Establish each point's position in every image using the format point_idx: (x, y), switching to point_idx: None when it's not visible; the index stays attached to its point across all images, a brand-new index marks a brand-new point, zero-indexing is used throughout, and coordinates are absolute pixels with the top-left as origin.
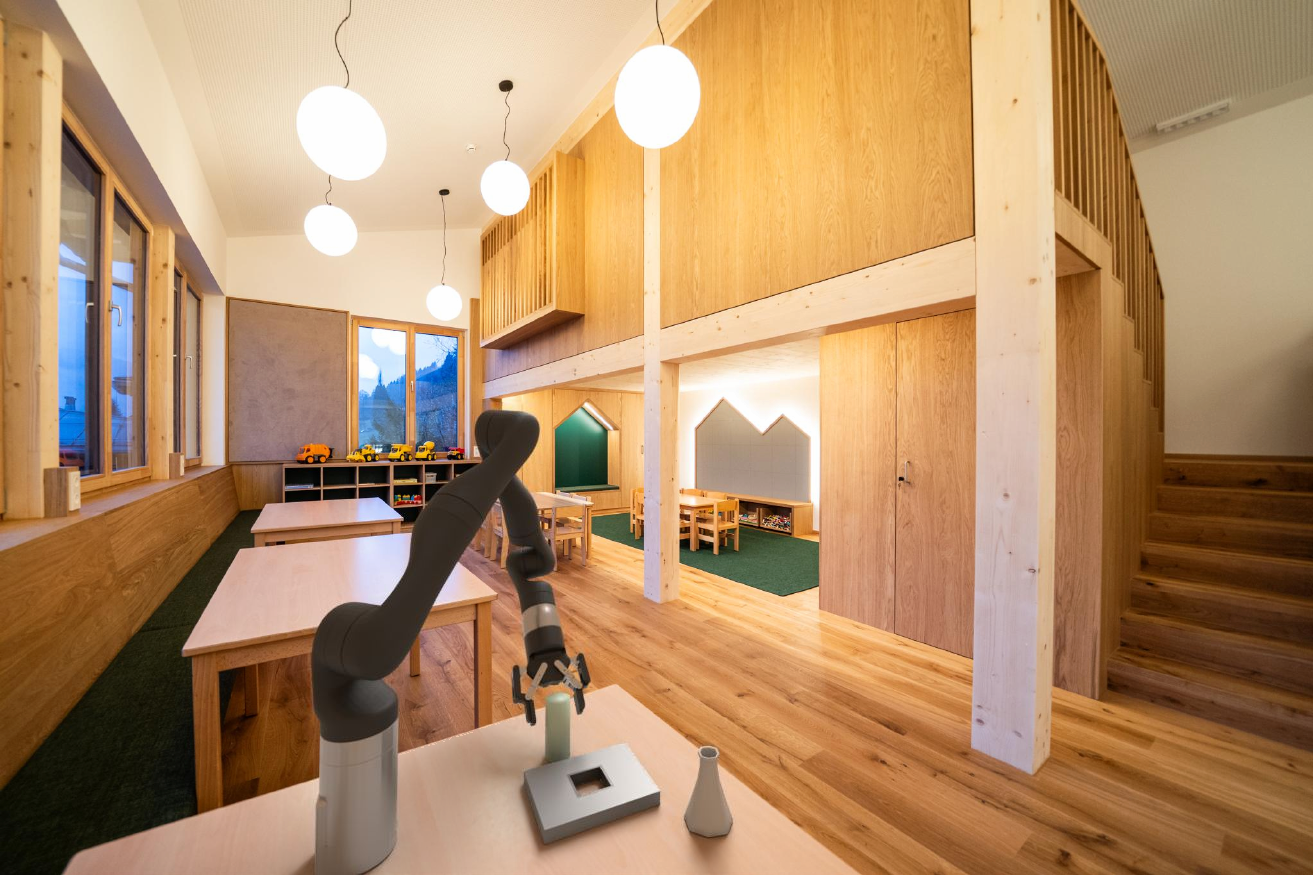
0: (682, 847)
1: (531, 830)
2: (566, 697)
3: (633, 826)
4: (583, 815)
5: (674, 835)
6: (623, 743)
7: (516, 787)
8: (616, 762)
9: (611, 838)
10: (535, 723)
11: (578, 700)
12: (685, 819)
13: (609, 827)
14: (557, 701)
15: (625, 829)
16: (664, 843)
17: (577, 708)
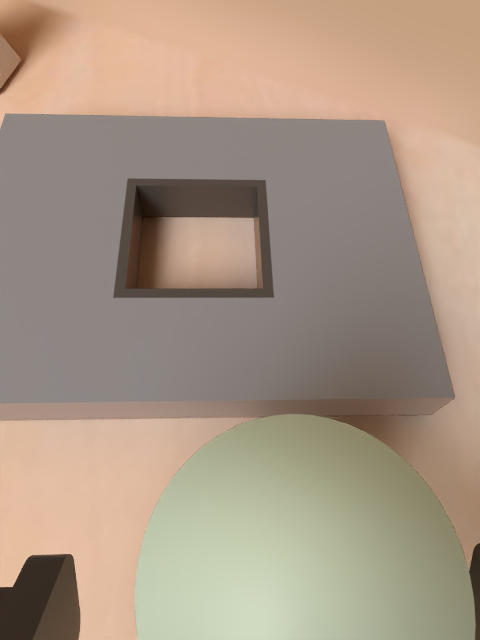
0: (67, 45)
1: None
2: (194, 553)
3: None
4: (267, 123)
5: (61, 69)
6: None
7: (459, 402)
8: (48, 282)
9: (205, 112)
10: (473, 566)
11: (25, 634)
12: (3, 83)
13: None
14: (325, 497)
15: None
16: (96, 63)
17: (62, 635)
